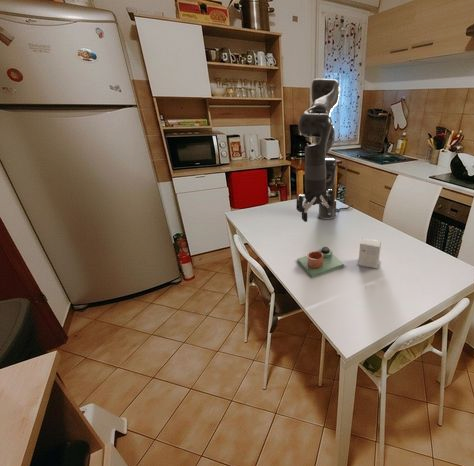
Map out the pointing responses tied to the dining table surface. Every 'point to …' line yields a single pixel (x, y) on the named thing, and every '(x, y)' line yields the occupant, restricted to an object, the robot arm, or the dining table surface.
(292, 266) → the dining table surface
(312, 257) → the bowl
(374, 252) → the small box
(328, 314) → the dining table surface
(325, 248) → the tare button
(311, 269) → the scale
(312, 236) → the dining table surface
